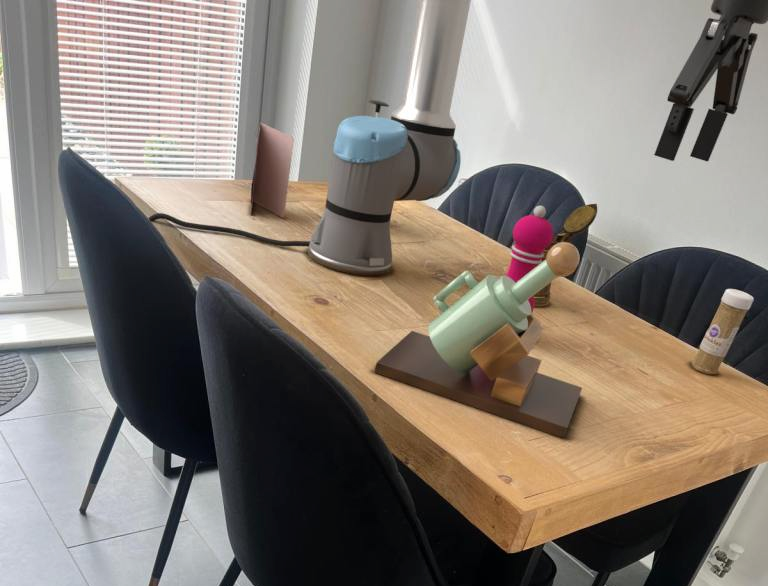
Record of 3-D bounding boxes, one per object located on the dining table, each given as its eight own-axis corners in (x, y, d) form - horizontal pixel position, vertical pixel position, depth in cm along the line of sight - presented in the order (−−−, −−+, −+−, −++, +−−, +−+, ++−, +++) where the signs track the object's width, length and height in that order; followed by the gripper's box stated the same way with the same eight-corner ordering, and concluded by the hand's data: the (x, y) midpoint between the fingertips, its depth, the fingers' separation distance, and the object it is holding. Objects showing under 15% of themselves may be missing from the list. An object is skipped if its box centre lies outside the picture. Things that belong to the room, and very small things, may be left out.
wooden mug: (576, 309, 142) (612, 211, 132) (516, 305, 137) (548, 202, 127) (551, 291, 149) (583, 196, 139) (493, 287, 143) (522, 187, 133)
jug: (409, 364, 101) (446, 213, 90) (428, 345, 108) (464, 203, 97) (526, 405, 98) (579, 255, 87) (538, 383, 105) (588, 241, 94)
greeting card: (248, 199, 159) (255, 121, 150) (283, 206, 160) (293, 129, 152) (246, 214, 149) (254, 131, 141) (283, 221, 151) (294, 139, 143)
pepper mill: (527, 332, 126) (568, 208, 115) (520, 346, 120) (562, 216, 109) (486, 319, 127) (522, 195, 116) (477, 332, 121) (514, 202, 110)
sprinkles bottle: (686, 365, 129) (721, 288, 121) (697, 362, 132) (733, 286, 124) (710, 377, 126) (748, 299, 119) (721, 373, 129) (759, 297, 122)
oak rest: (460, 386, 99) (480, 316, 93) (480, 359, 108) (499, 294, 102) (519, 407, 97) (543, 337, 92) (535, 378, 106) (557, 313, 101)
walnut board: (374, 372, 100) (376, 362, 99) (409, 339, 112) (411, 330, 112) (563, 438, 96) (567, 428, 95) (578, 396, 108) (582, 387, 107)
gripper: (749, -30, 87) (673, 165, 99) (805, 3, 105) (734, 166, 116) (689, -41, 91) (622, 149, 103) (753, -7, 108) (689, 152, 120)
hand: (682, 158), depth 110 cm, fingers open, 13 cm apart
